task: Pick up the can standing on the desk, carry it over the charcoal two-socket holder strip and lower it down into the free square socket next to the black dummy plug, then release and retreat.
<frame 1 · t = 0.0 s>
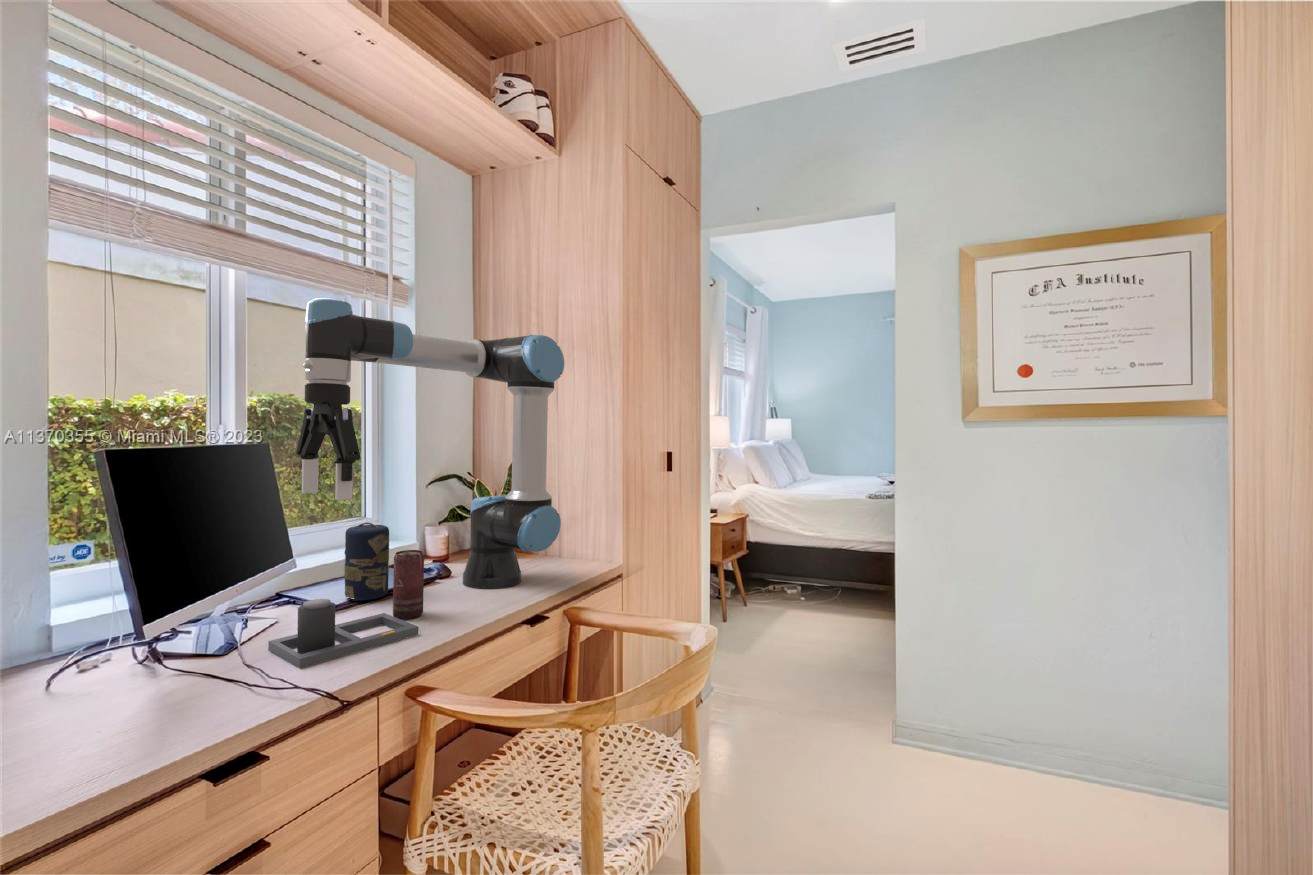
hand: (326, 496, 113), 28 cm above the table, fingers open, 13 cm apart
dummy plug: (316, 649, 110), resting in socket strip
canister: (366, 598, 144), on the table
socket strip: (346, 641, 115), on the table
can: (408, 616, 131), on the table
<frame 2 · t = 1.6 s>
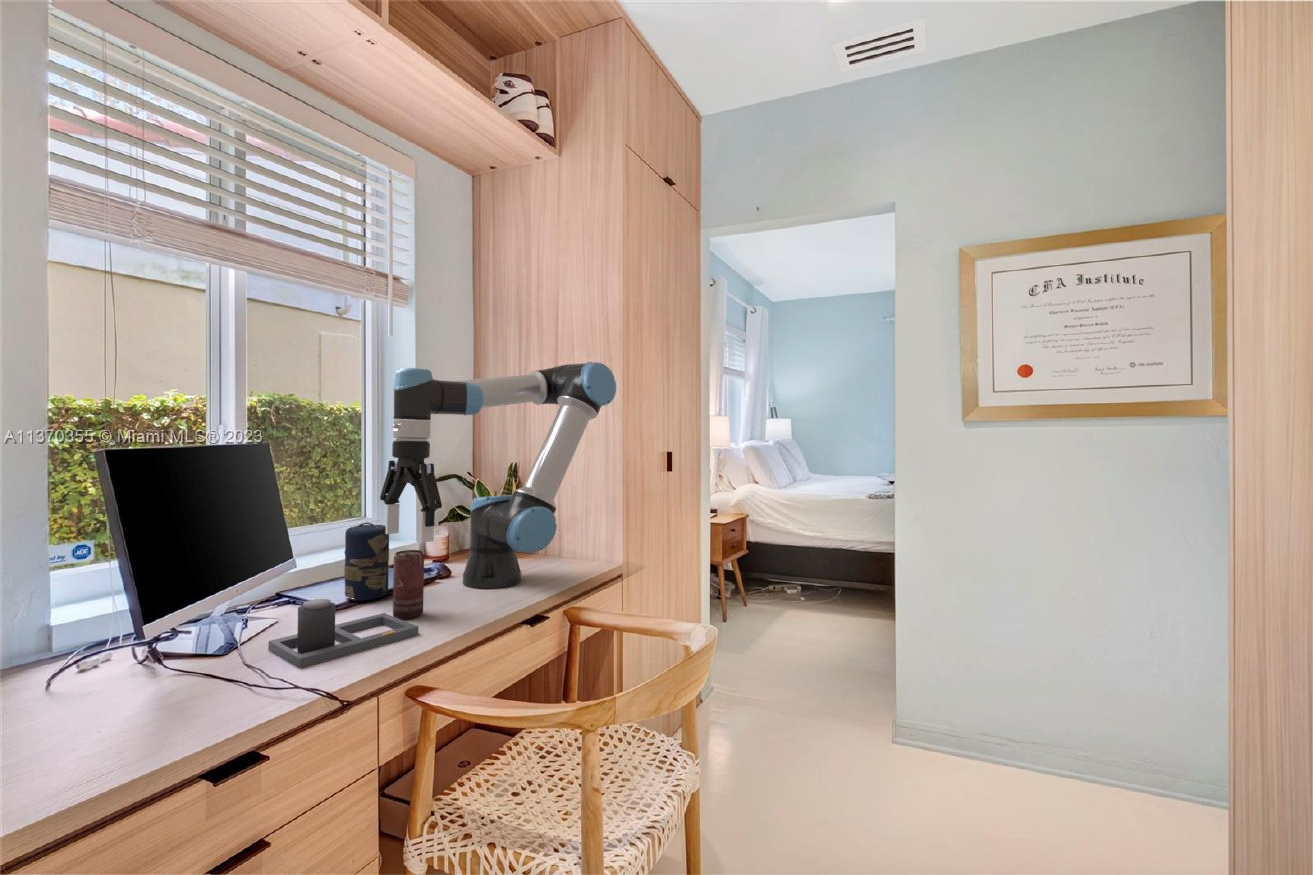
hand: (408, 537, 130), 17 cm above the table, fingers open, 13 cm apart
nothing on the table moved.
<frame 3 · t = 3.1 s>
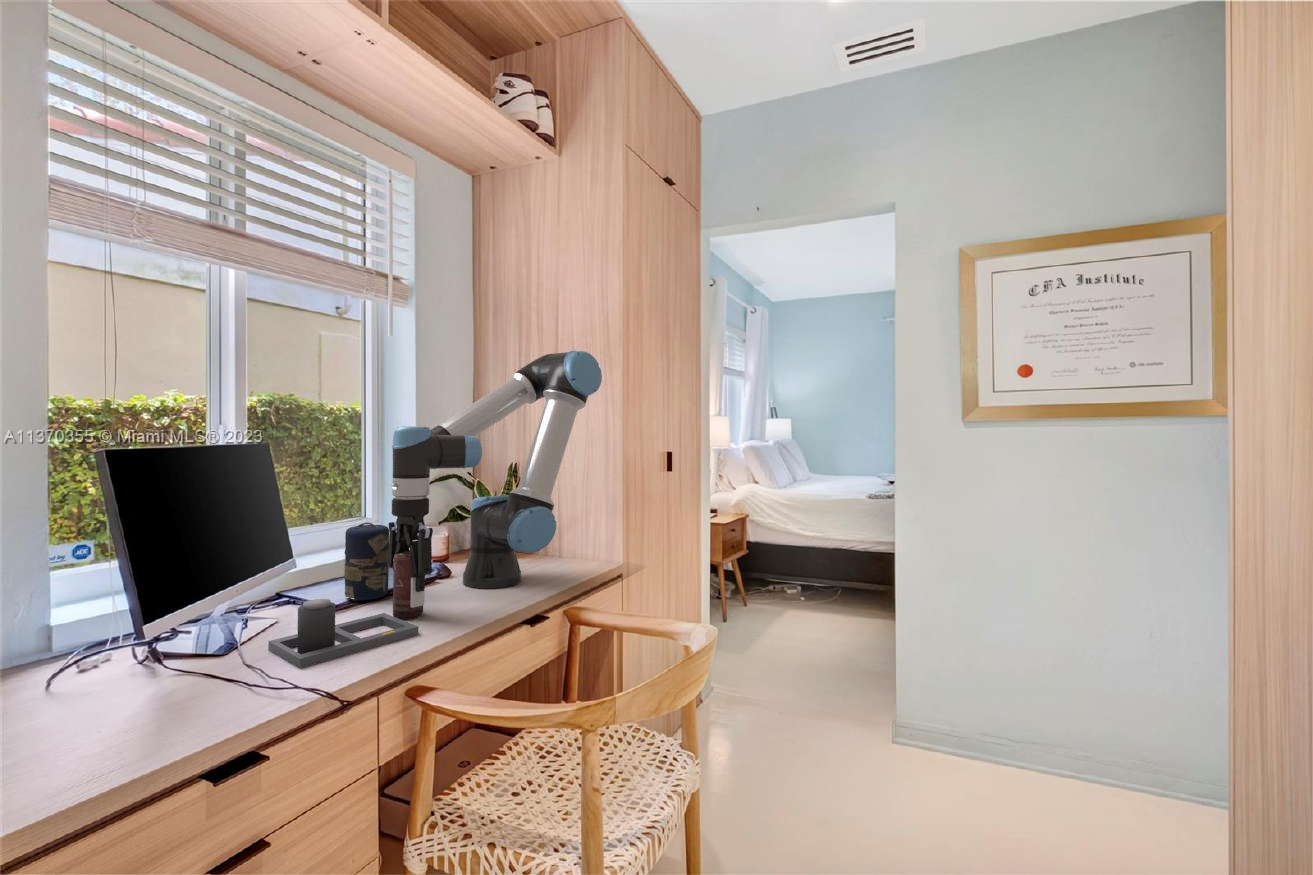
hand: (408, 602, 131), 3 cm above the table, fingers open, 6 cm apart
can: (408, 616, 131), on the table, touching gripper
everything else where it was.
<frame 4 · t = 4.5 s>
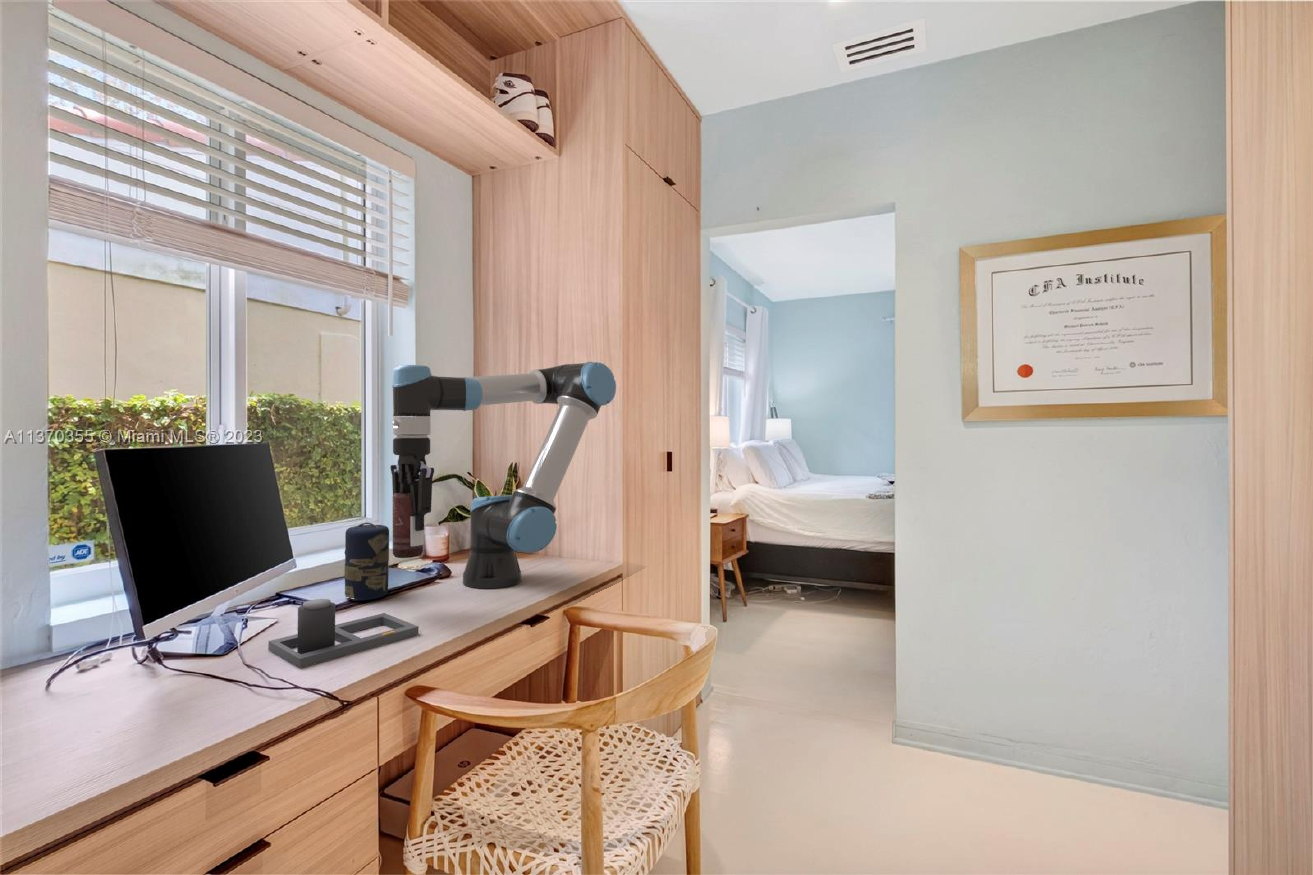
hand: (411, 543, 131), 16 cm above the table
can: (408, 556, 132), point 13 cm above the table, touching gripper, hand
everything else where it was.
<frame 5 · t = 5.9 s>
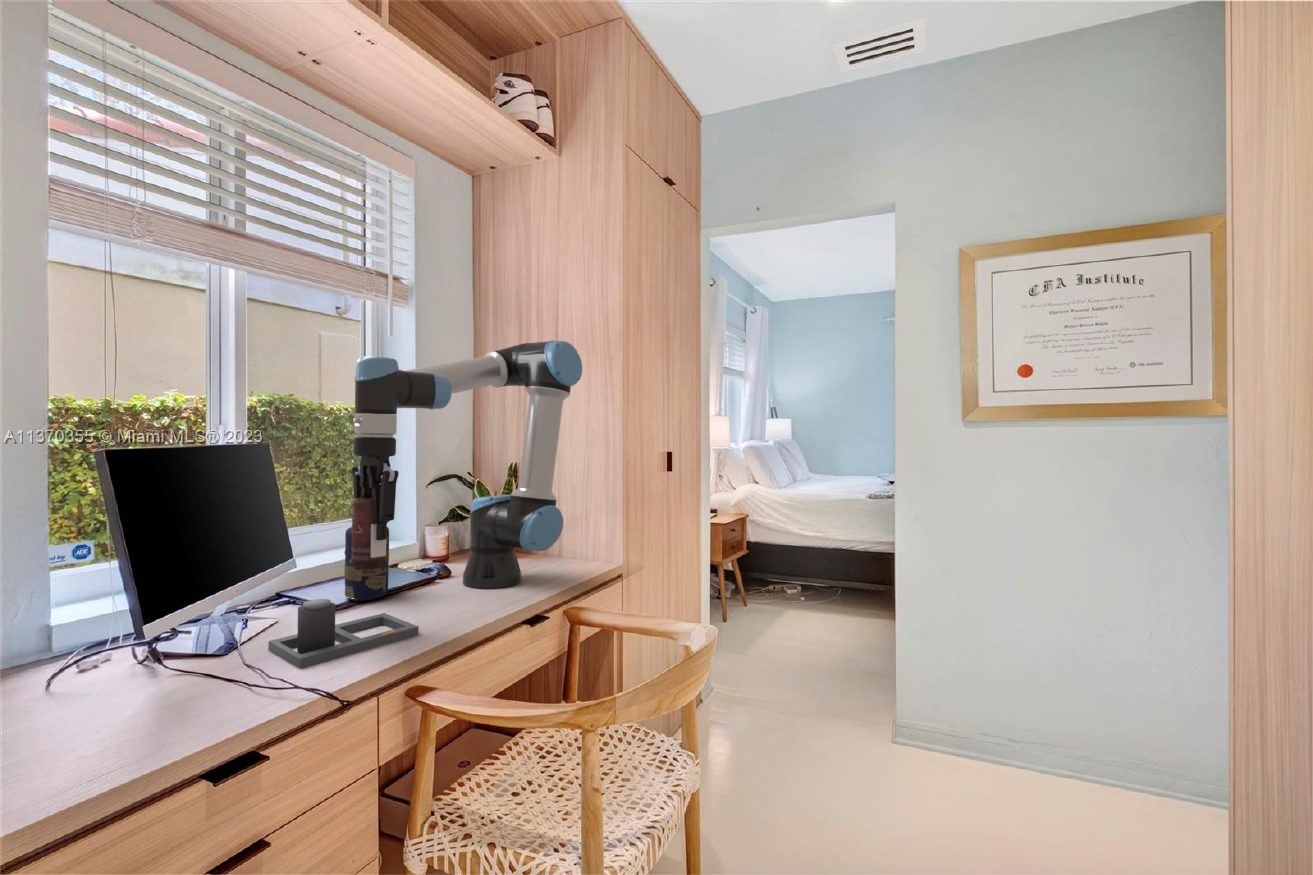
hand: (372, 554, 118), 16 cm above the table
can: (368, 567, 119), point 13 cm above the table, touching gripper, hand
everything else where it was.
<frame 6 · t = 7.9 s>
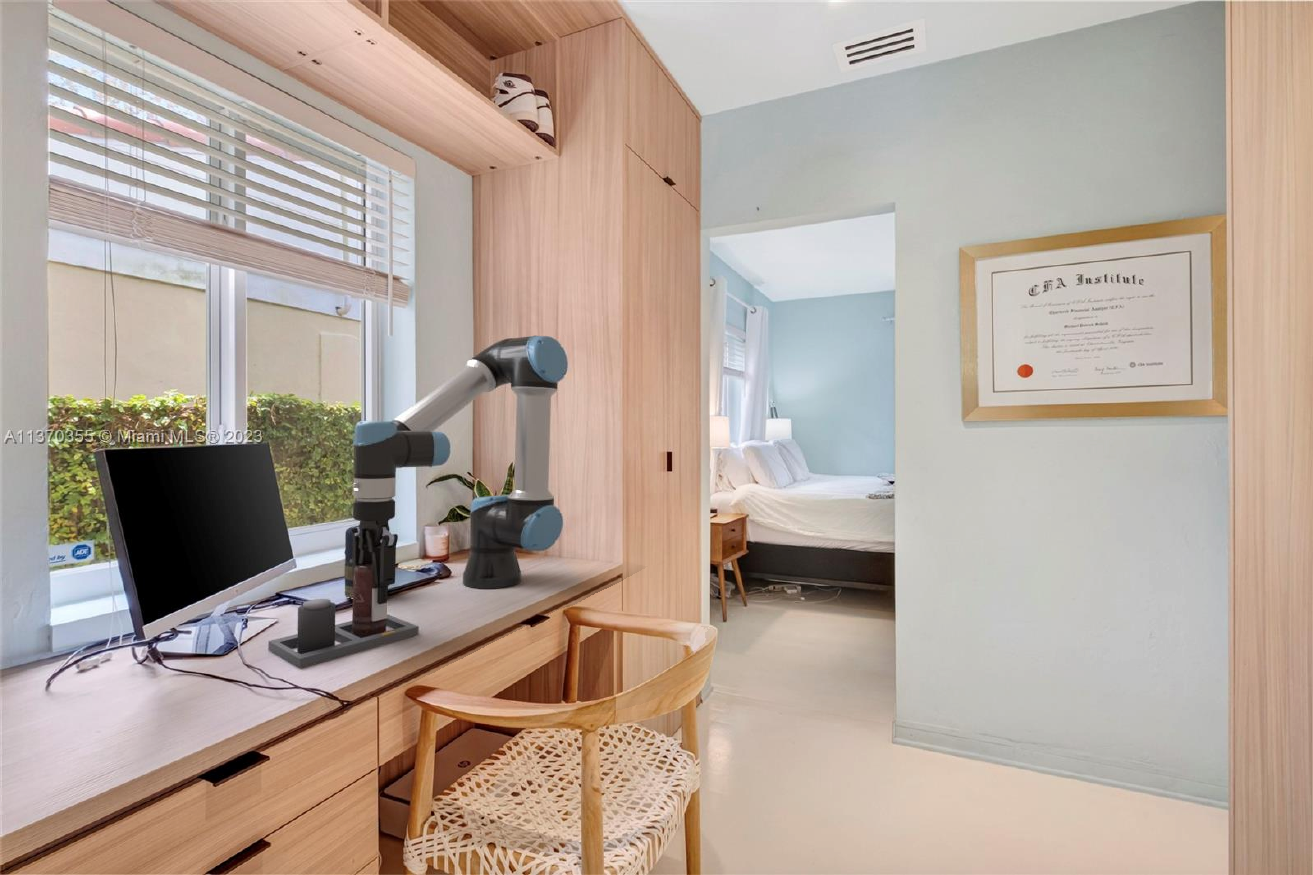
hand: (372, 616, 119), 4 cm above the table, fingers open, 4 cm apart
can: (369, 634, 119), resting in socket strip
everything else where it was.
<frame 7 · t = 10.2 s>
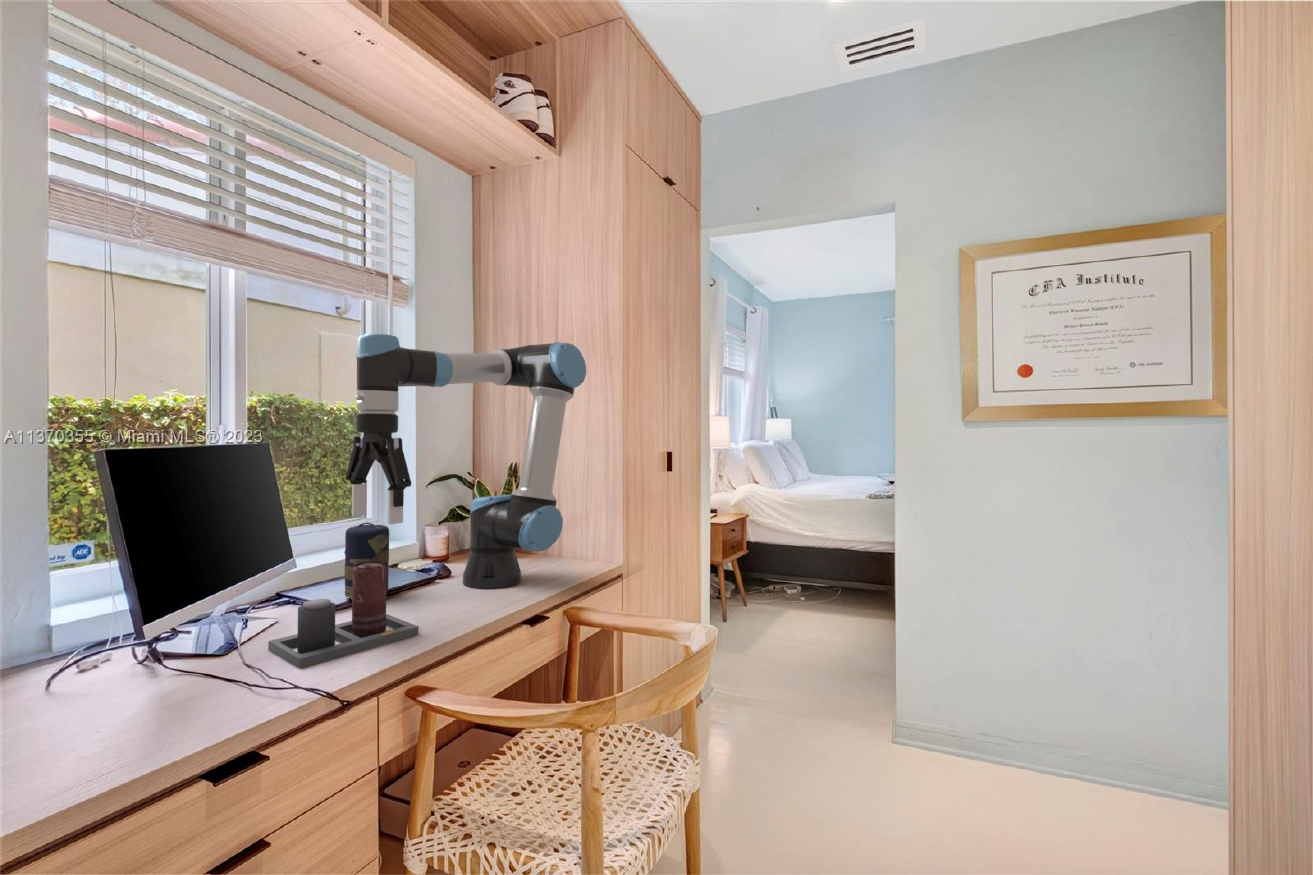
hand: (376, 519, 119), 23 cm above the table, fingers open, 13 cm apart
nothing on the table moved.
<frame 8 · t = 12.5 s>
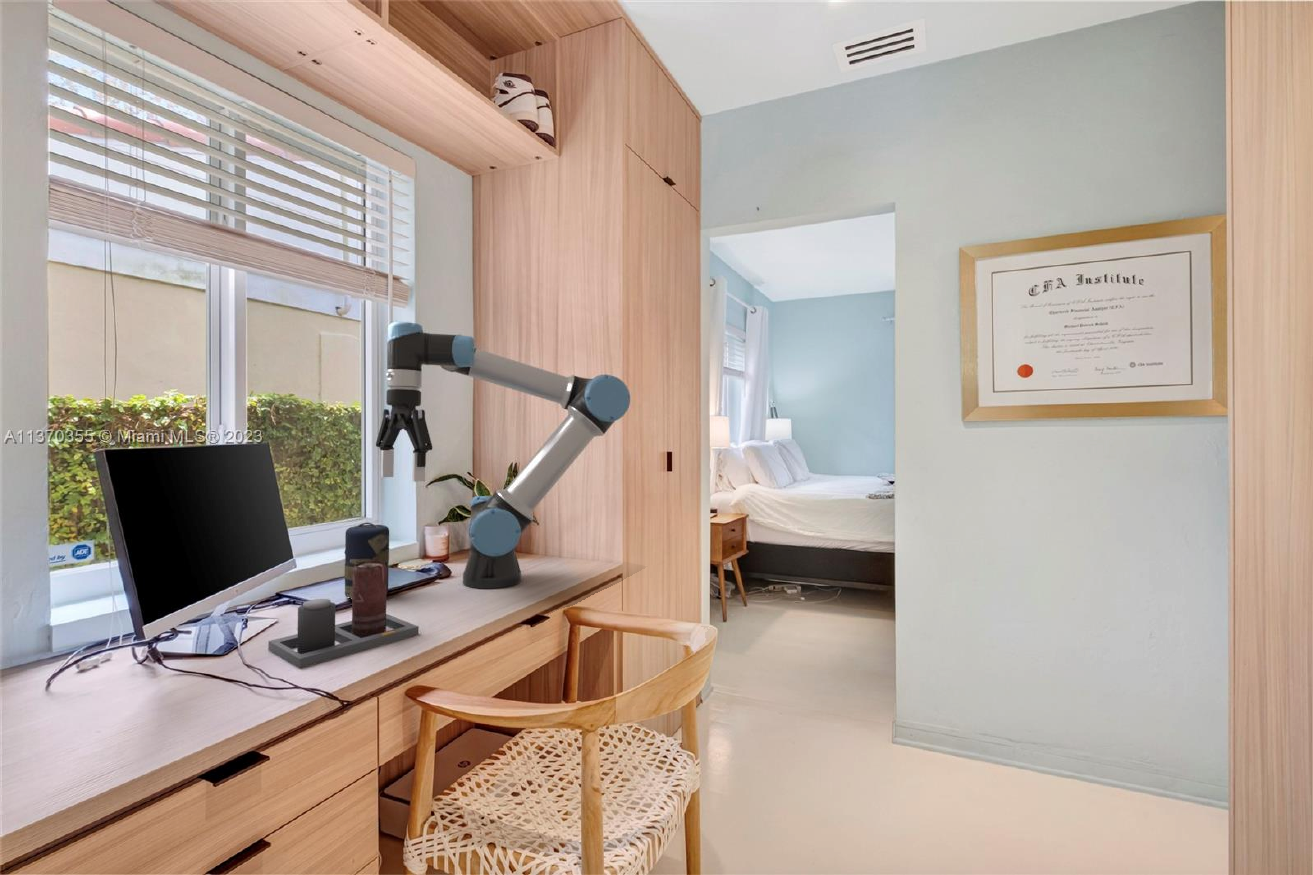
hand: (402, 479, 141), 29 cm above the table, fingers open, 13 cm apart
nothing on the table moved.
at the end: can 1.0 cm from the target spot on the socket strip, point 0.0 cm above the socket strip's base; can tilted 0°; can touching table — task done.
